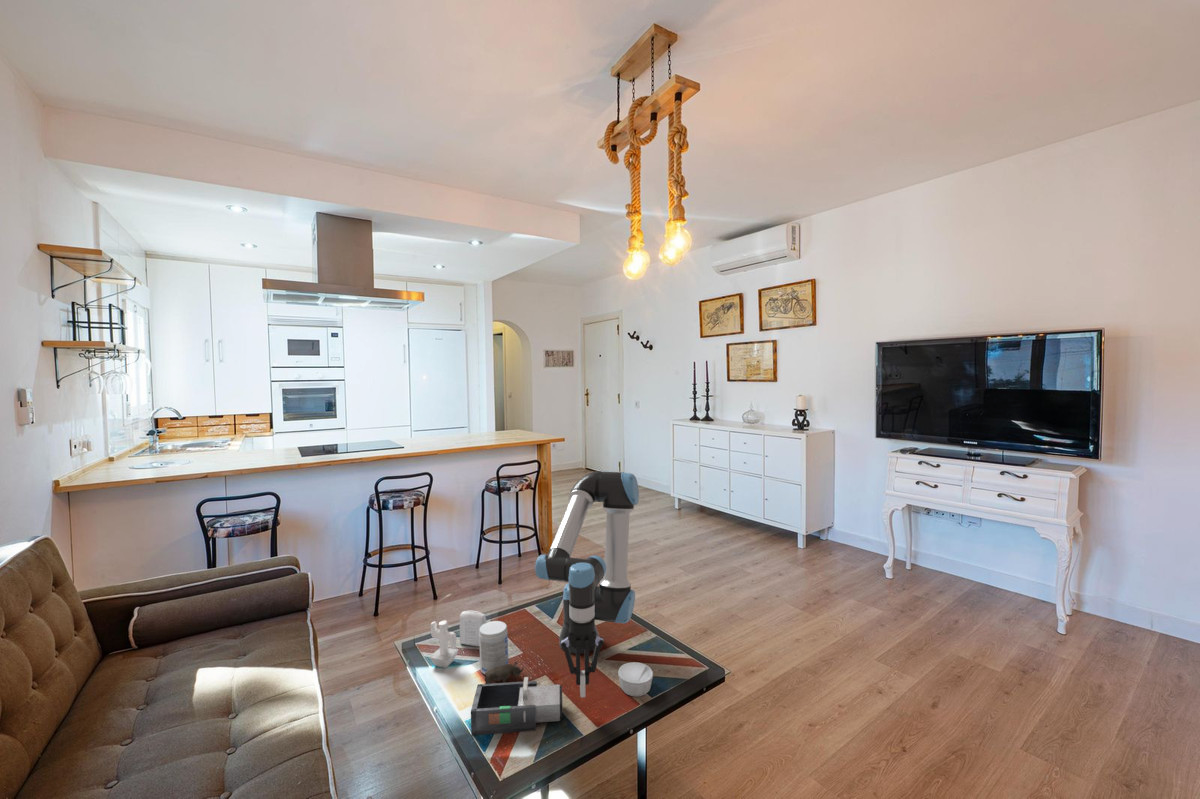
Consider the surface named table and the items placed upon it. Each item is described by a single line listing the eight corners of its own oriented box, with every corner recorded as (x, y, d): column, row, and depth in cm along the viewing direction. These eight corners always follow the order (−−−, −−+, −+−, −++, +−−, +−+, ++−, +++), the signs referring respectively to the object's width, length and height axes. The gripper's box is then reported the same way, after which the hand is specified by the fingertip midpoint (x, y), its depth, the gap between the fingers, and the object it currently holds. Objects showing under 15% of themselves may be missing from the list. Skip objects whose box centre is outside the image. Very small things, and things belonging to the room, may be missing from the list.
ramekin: (657, 697, 154) (657, 680, 154) (622, 701, 152) (622, 685, 152) (647, 675, 165) (647, 660, 165) (615, 679, 163) (615, 663, 163)
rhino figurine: (526, 679, 164) (525, 662, 163) (485, 692, 157) (484, 674, 157) (522, 673, 167) (521, 656, 167) (482, 685, 161) (481, 667, 161)
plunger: (562, 699, 151) (561, 671, 151) (562, 720, 142) (562, 690, 142) (520, 702, 150) (519, 674, 150) (518, 723, 141) (517, 693, 141)
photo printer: (488, 641, 187) (487, 610, 186) (482, 648, 182) (482, 615, 182) (464, 638, 189) (463, 607, 188) (458, 644, 185) (457, 612, 184)
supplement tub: (512, 670, 168) (511, 629, 167) (486, 680, 163) (485, 638, 162) (501, 657, 176) (500, 617, 176) (476, 666, 171) (475, 625, 170)
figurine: (450, 671, 168) (448, 629, 168) (426, 667, 171) (425, 625, 170) (461, 659, 175) (460, 618, 174) (439, 655, 178) (437, 615, 177)
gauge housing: (537, 702, 152) (536, 680, 152) (535, 731, 140) (534, 707, 140) (478, 706, 151) (477, 683, 150) (471, 736, 138) (470, 711, 138)
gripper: (602, 610, 150) (603, 685, 151) (559, 612, 149) (560, 687, 150) (605, 622, 142) (605, 701, 144) (560, 624, 141) (560, 704, 142)
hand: (582, 694), depth 147 cm, fingers closed
